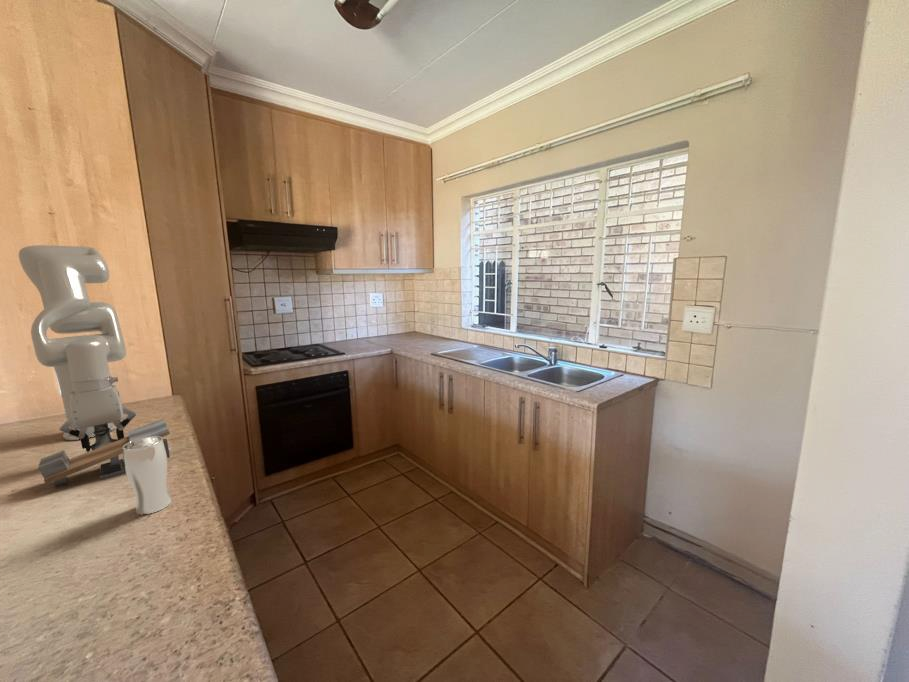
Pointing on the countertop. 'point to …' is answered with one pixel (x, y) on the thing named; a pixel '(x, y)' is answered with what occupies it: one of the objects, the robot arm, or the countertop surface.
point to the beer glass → (147, 473)
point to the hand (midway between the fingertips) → (104, 445)
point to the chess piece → (102, 436)
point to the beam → (94, 453)
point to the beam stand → (109, 468)
